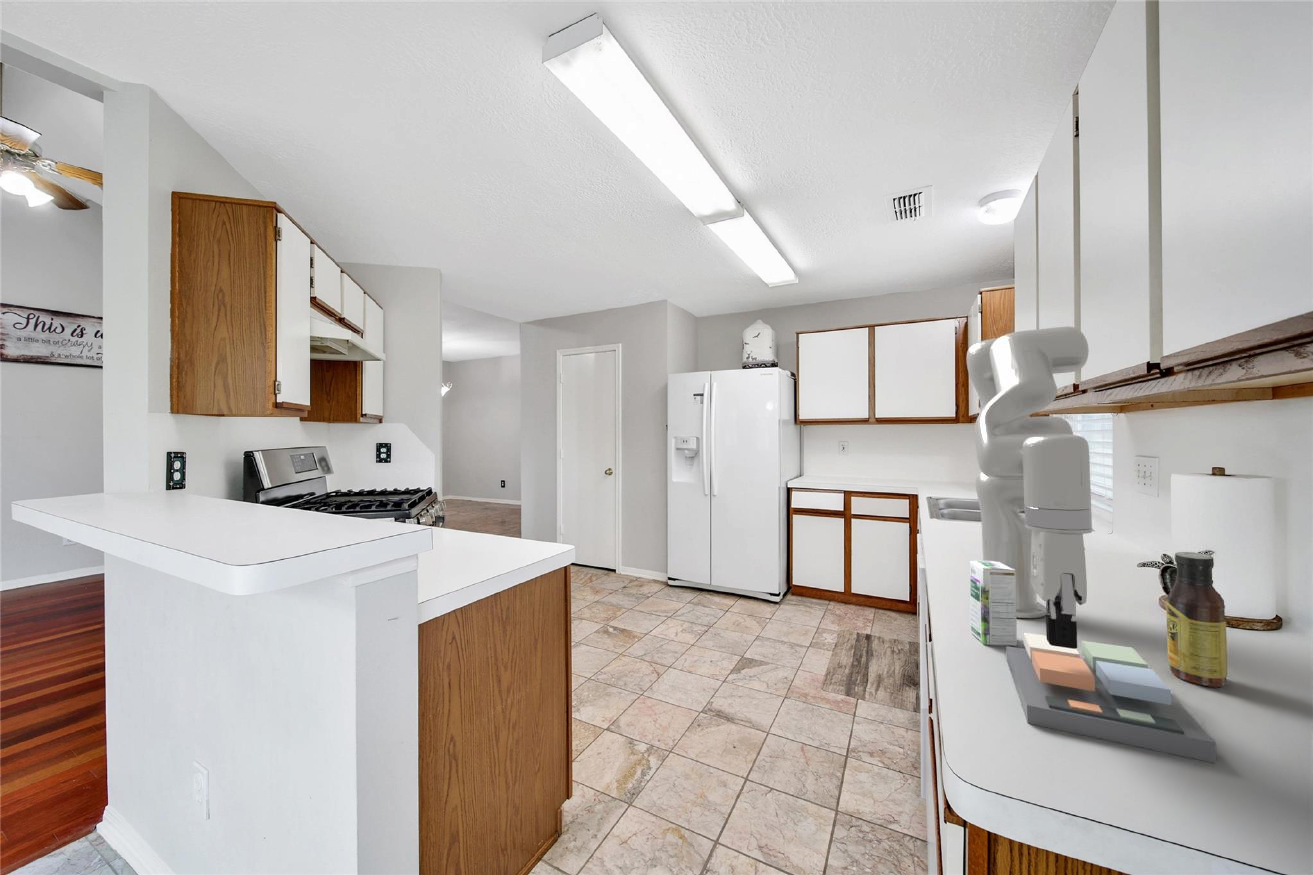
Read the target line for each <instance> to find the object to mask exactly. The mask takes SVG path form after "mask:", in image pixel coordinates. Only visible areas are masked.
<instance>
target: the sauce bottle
mask: <svg viewBox="0 0 1313 875" xmlns="http://www.w3.org/2000/svg"><path fill="white" fill-rule="evenodd" d="M1174 562H1175V563H1176V577H1175V581H1174V584H1173V585H1172V588H1171V590H1170V591H1169V593H1168V595H1167V597H1166V599H1165V604H1166V605H1165V608H1166V634H1167V635H1166V638H1167V640H1166V641H1167V642H1166V643H1167V662H1168V665H1169V670H1170V672H1171V673H1172V674H1173V675H1174V676H1175V677H1177V678H1178V679H1180V680H1184V681H1186V682H1189V683H1191V684H1194V685H1200V686H1206V687H1208V688H1209V687H1211V688H1219V687H1223V686H1225V685H1226V684H1227V677H1228V652H1227V651H1228V649H1227V648H1228V645H1227V640H1228V639H1227V617H1226V615H1225V614H1226V612H1225V609H1226V605H1225V600H1224V598H1223V597H1222V595H1221V594H1220V593H1219V592H1218V591H1217V590H1216V588H1215V587H1214V586H1213V585H1214V580H1213V568H1214V566H1215V565H1214V564H1215V563H1214V562H1215V561H1214V557H1213V556H1212V555H1209V554H1206V553H1200V552H1193V551H1177V552H1175V553H1174Z"/></svg>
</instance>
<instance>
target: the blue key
mask: <svg viewBox="0 0 1313 875" xmlns="http://www.w3.org/2000/svg"><path fill="white" fill-rule="evenodd" d="M1096 675H1097V676H1098V678H1099V679H1100V681H1101V682H1102V684H1103V685H1104V687H1105V688H1106V690H1107V691H1108V692H1109V694H1112V695H1117V696H1123V697H1129V698H1134V699H1140V700H1145V701H1151V702H1157V703H1162V704H1168V705H1171V694H1172V690H1171V689H1170V687H1169V686H1168V685H1167V684H1166V683H1165V682H1164V681H1163V680H1162V679H1161V677H1160V676H1159V675H1158V674H1157V673H1156V672H1155V671H1154V670H1153V669H1152V668H1149V669H1147V668H1140V667H1134V666H1127V665H1121V664H1114V663H1108V662H1101V661H1096Z"/></svg>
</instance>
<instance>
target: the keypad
mask: <svg viewBox="0 0 1313 875" xmlns="http://www.w3.org/2000/svg"><path fill="white" fill-rule="evenodd" d="M1005 646H1006V648H1005V649H1006V650H1005V651H1006V652H1005V653H1006V663H1007V666H1008V669H1009V672H1010V674H1011V677H1012V680H1013V684H1014V687H1015V689H1016V693H1017V695H1018V698H1019V703H1020V704H1021V707H1022V710H1023V713H1024V714H1023V715H1024V716H1025V720H1026V722H1027V724H1031V725H1035V726H1040V727H1045V728H1048V729H1049V728H1050V729H1054V730H1058V731H1062V732H1063V731H1064V732H1067V733H1073V734H1078V735H1081V736H1087V737H1092V738H1095V739H1096V738H1097V739H1100V738H1101V740H1105V741H1110V742H1115V743H1120V744H1124V745H1129V746H1133V747H1139V748H1141V749H1142V748H1143V747H1144V748H1143V749H1148V750H1151V749H1152V750H1153V751H1156V752H1160V753H1161V752H1162V753H1167V754H1170V755H1176V756H1181V757H1185V758H1189V759H1195V760H1200V761H1204V762H1209V763H1212V764H1216V763H1217V759H1216V758H1217V752H1216V749H1217V747H1216V742H1215V740H1214V739H1213V738H1212V737H1211V736H1210V734H1208V732H1207V731H1206V730H1205V729H1204V728H1203V727H1202V726H1201V725H1200V723H1199V722H1197V720H1196V719H1195V718H1194V717H1193V716H1192V715H1191V713H1189V712H1188V710H1187V709H1186V708H1185V707H1184V706H1183V704H1182V703H1180V701H1179V700H1178V699H1177V698H1176V697H1175V696H1174V695H1173V694H1172V693H1171V705H1168V704H1162V703H1157V702H1151V701H1145V700H1140V699H1134V698H1129V697H1123V696H1117V695H1112V694H1109V692H1108V691H1107V690H1106V688H1105V687H1104V685H1103V684H1102V682H1101V681H1100V679H1099V678H1098V676H1097V675H1096V670H1093V669H1092V667H1091V666H1090V664H1089V663H1088V661H1087V660H1086V658H1085V657H1081V658H1082V659H1083V660H1084V662H1085V663H1086V665H1087V666H1088V668H1089V669H1090V671H1091V672H1092V674H1093V675H1094V677H1095V691H1089V690H1084V689H1078V688H1072V687H1067V686H1061V685H1055V684H1050V683H1044V682H1040V680H1039V678H1038V676H1037V673H1036V671H1035V669H1034V666H1033V664H1032V660H1030V657H1029V655H1028V653H1027V650H1026V648H1021V647H1020V648H1018V647H1013V646H1008V645H1005ZM1148 669H1150V668H1149V667H1148Z"/></svg>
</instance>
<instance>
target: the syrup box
mask: <svg viewBox="0 0 1313 875" xmlns="http://www.w3.org/2000/svg"><path fill="white" fill-rule="evenodd" d="M969 579H970V581H969V584H970V585H969V588H970V589H969V591H970V592H969V595H970V596H969V598H970V599H969V601H970V602H969V603H970V608H969V609H970V633H971V635H974V637H975V638H977V639H978V640H979V641H980V642H981V643H982V644H984V646H985V645H987V646H1010V647H1013V646H1014V647H1015V646H1018V640H1017V639H1018V635H1017V634H1018V632H1017V631H1018V628H1017V626H1018V625H1017V624H1018V623H1017V622H1018V621H1017V617H1016V571H1015V569H1011V568H1010V567H1008V566H1006V565H1004V564H1002V563H1000V562H995V561H983V560H970V561H969Z"/></svg>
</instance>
